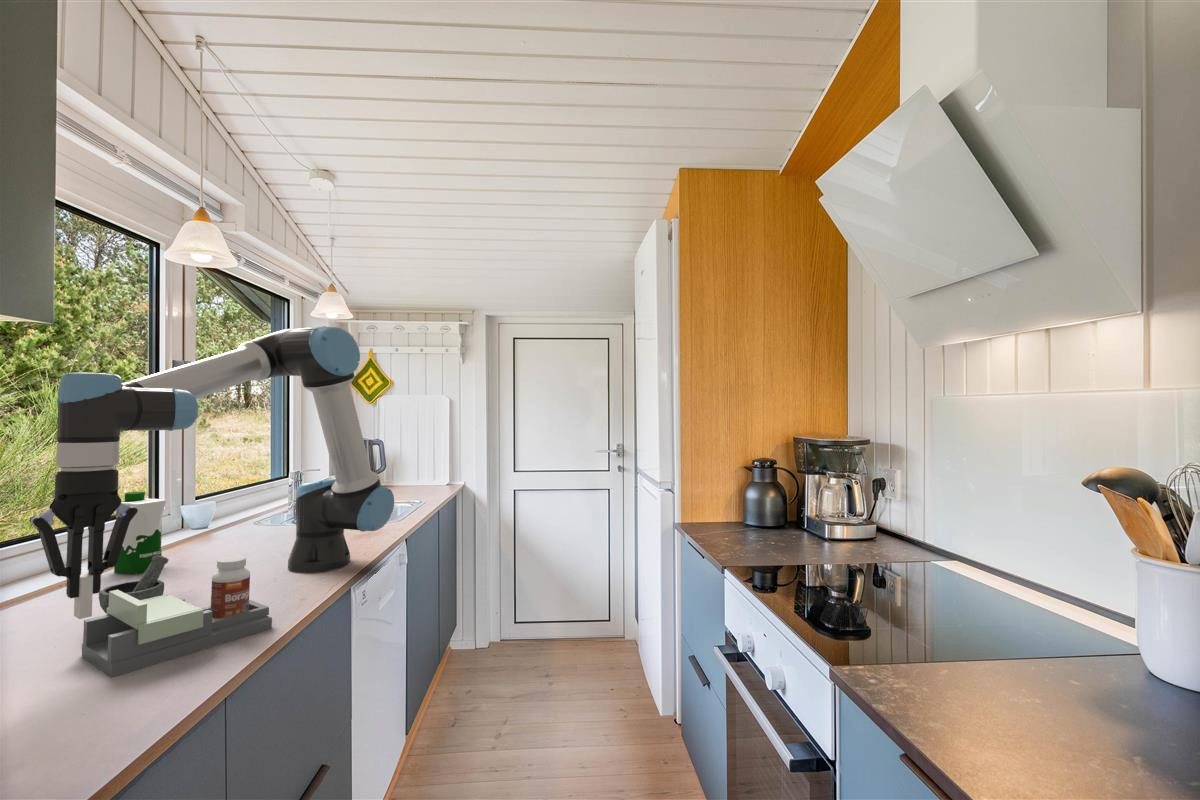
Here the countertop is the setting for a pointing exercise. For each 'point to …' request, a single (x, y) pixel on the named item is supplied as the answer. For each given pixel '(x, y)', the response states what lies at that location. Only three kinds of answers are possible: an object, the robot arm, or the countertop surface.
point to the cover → (155, 615)
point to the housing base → (163, 639)
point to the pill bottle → (230, 587)
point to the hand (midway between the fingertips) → (82, 615)
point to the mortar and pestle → (139, 584)
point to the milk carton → (141, 534)
